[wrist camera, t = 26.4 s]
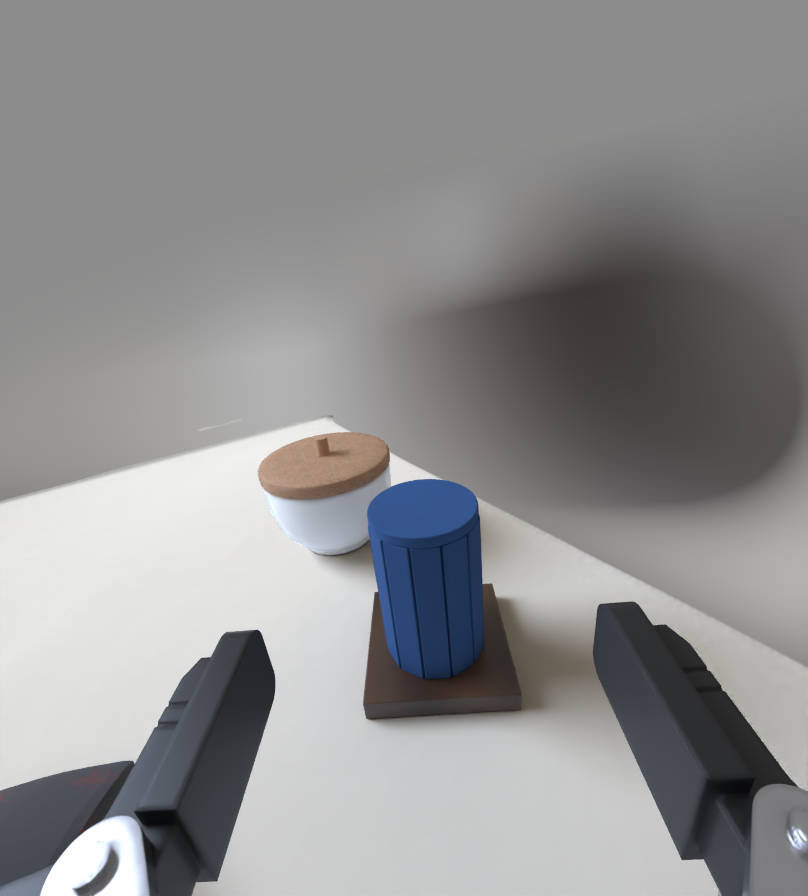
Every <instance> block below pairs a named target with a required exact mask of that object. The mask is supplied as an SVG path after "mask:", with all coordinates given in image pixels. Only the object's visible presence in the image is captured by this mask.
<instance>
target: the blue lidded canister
mask: <svg viewBox="0 0 808 896" xmlns="http://www.w3.org/2000/svg"><path fill="white" fill-rule="evenodd" d="M367 518H368V532H369V538H370V544H371V550H372V556H373V562H374V568H375V574H376V580H377V586H378V592H379V599H380V605H381V611H382V617H383V623H384V629H385V635H386V641H387V647H388V650H389V652H390V654H391V655H392V657H393V658H394V660H395V661H396V663H397V664H398V666H399V667H401V668H402V670H404V671H406V672H409V673H411V674H413V675H415V676H418V677H420V678H422V679H423V678H424V676H425V678H426V679H440V678H451V674H452V675H453V676H456V675H457V674H459V673H460V672H462V671H464V670H465V669H467V668H468V667H470V666H472V665H473V664H474V663H473V661H474V662H476V660H477V658H478V656H479V654H480V652H481V650H482V648H483V646H484V641H485V636H484V611H483V585H482V560H481V534H480V517H479V512H478V501H477V499H476V497H475V495H474V494H473V493H472V492H471V491H470V490H468V489H467V488H465V487H464V486H462V485H459V484H457V483H454V482H450V481H445V480H436V479H423V480H414V481H408V482H404V483H400V484H397V485H395V486H392V487H390V488H388V489H386V490H384V491H382V492H381V493H379V494H378V495H377V496H376V497H375V498H374V499H373V500H372V501H371V502H370V504H369V506H368V510H367Z"/></svg>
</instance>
